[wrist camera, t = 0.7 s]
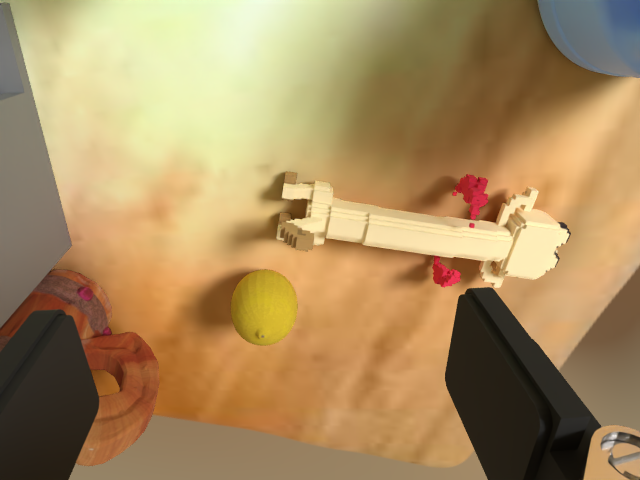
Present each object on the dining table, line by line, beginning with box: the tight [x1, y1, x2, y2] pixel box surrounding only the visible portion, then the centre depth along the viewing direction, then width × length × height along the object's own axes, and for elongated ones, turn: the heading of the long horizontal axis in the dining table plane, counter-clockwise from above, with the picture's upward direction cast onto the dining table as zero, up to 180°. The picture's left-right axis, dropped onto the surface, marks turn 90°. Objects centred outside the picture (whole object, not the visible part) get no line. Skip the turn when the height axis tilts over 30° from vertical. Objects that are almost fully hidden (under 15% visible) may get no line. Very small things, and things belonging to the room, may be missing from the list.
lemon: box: [230, 269, 298, 346], centre depth 37 cm, size 6×6×8 cm
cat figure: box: [276, 171, 571, 288], centre depth 36 cm, size 10×9×25 cm
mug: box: [0, 269, 159, 466], centre depth 34 cm, size 15×8×15 cm, turn 69°
